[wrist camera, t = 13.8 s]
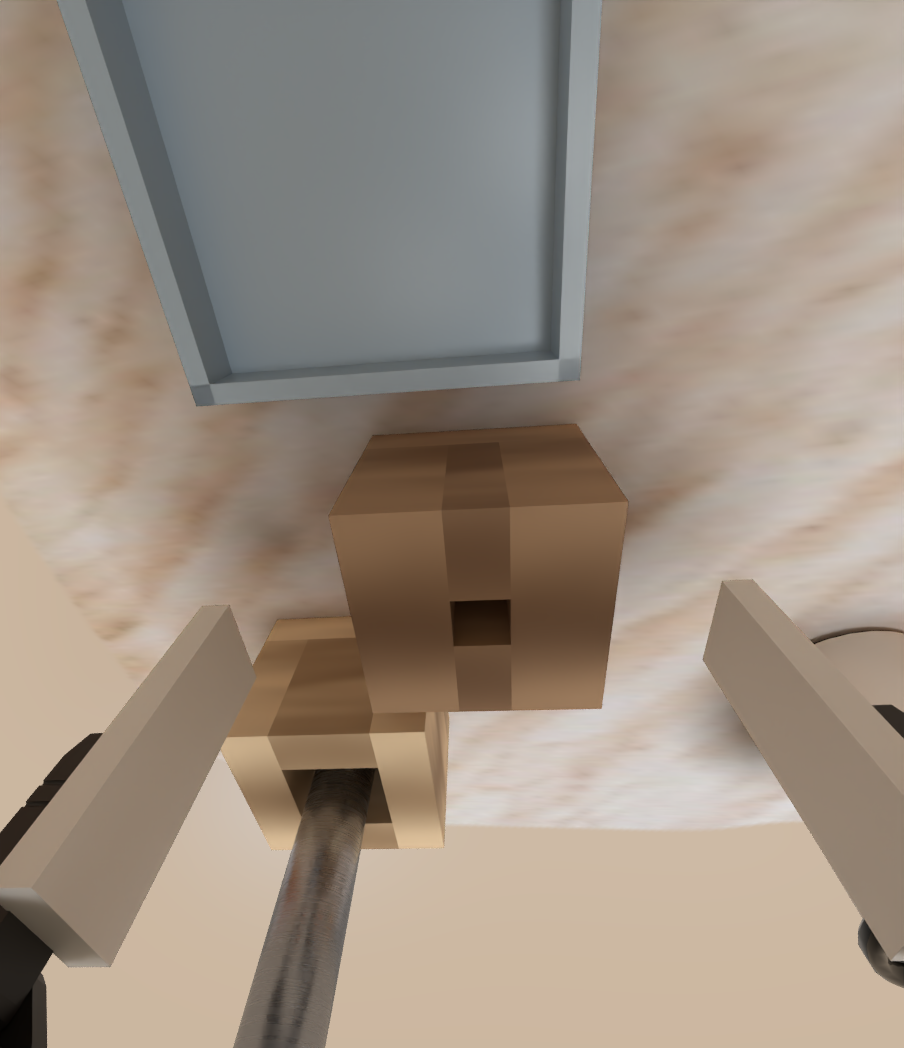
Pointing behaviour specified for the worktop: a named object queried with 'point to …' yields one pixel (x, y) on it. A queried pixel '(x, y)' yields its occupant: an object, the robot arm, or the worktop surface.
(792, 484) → the worktop surface
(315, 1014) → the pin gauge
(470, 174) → the tray
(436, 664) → the walnut block
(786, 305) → the worktop surface
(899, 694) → the mug
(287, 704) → the oak block
